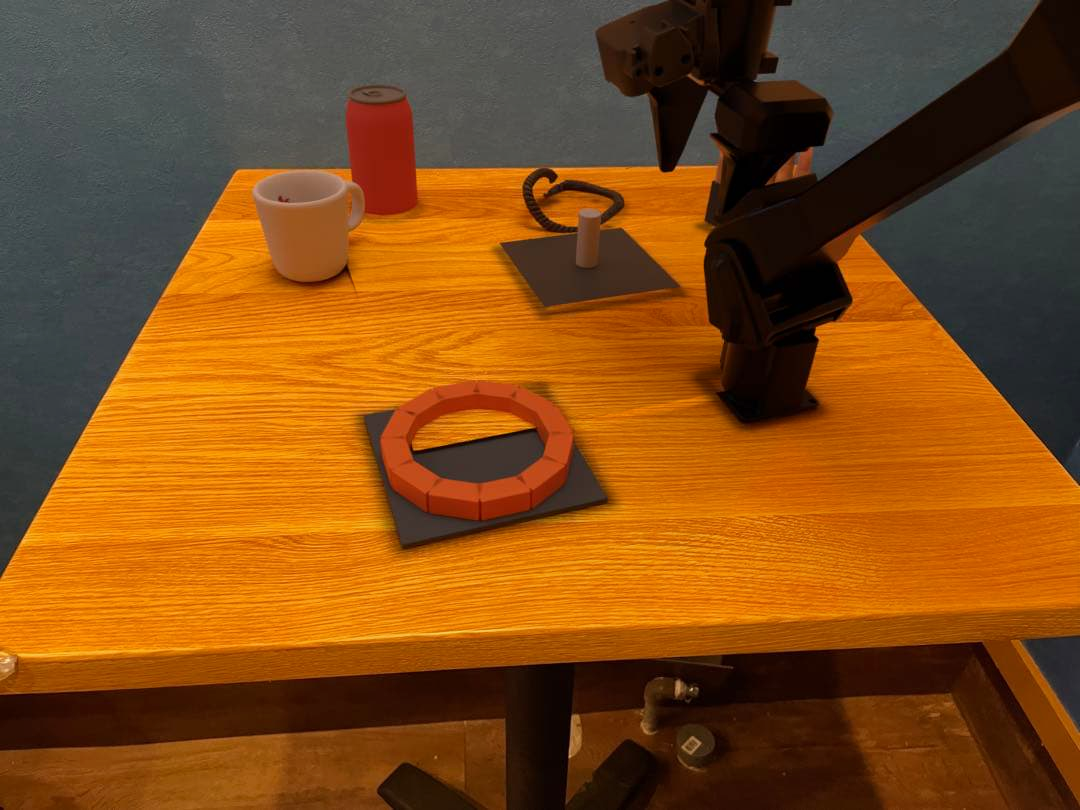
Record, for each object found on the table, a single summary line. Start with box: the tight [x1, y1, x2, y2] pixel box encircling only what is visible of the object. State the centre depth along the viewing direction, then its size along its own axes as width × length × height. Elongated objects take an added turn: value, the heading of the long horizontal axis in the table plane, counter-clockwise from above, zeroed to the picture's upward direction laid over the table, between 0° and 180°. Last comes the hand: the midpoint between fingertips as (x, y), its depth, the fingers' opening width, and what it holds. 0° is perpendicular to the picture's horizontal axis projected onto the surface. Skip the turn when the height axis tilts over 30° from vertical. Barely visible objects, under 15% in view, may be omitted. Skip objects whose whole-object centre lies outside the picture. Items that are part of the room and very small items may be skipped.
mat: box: [363, 408, 609, 550], centre depth 54 cm, size 13×13×1 cm
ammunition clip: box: [703, 147, 814, 227], centre depth 79 cm, size 11×2×12 cm, turn 37°
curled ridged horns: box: [521, 167, 625, 234], centre depth 85 cm, size 13×5×10 cm
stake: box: [499, 208, 682, 308], centre depth 75 cm, size 13×13×6 cm
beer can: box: [344, 84, 419, 216], centre depth 83 cm, size 7×7×12 cm
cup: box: [251, 169, 365, 283], centre depth 74 cm, size 11×8×8 cm
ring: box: [380, 379, 575, 521], centre depth 54 cm, size 12×12×2 cm
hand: (693, 196), depth 61 cm, fingers open, 9 cm apart
